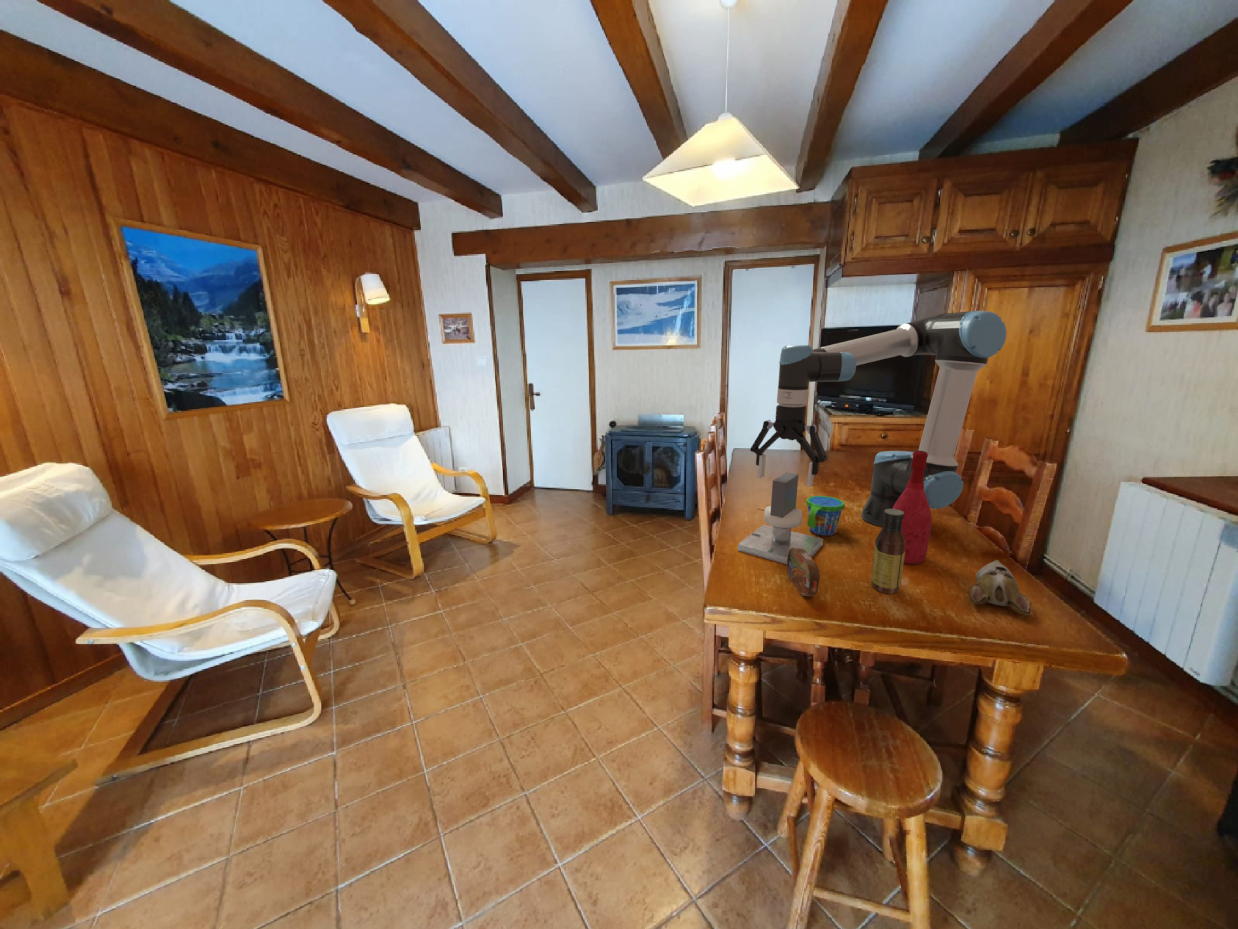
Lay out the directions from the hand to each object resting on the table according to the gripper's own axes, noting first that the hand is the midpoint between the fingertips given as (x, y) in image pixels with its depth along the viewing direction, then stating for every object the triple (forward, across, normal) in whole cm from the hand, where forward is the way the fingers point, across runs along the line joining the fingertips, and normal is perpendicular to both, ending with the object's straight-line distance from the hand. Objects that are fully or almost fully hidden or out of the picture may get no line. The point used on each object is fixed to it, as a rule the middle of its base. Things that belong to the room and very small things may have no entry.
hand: (784, 481), depth 129 cm
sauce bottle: (+20, +28, -7) cm, 35 cm away
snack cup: (+20, +6, +19) cm, 29 cm away
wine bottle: (+20, +29, +14) cm, 38 cm away
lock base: (+20, 0, 0) cm, 20 cm away
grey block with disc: (+12, -1, 0) cm, 12 cm away
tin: (+20, +12, -18) cm, 30 cm away
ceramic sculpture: (+20, +49, +2) cm, 53 cm away
